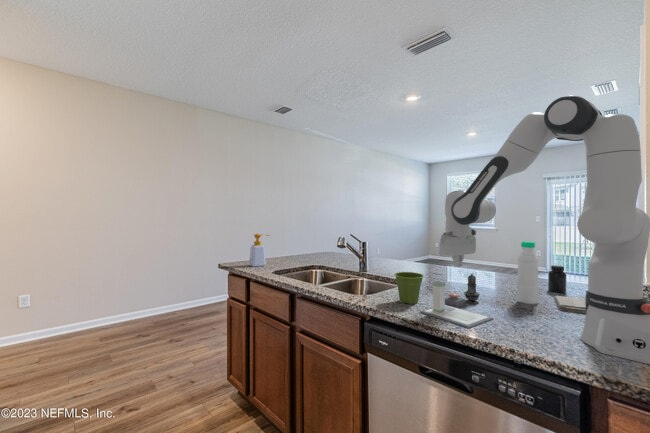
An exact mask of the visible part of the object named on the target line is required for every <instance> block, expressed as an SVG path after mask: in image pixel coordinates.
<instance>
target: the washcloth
mask: <svg viewBox="0 0 650 433" xmlns="http://www.w3.org/2000/svg"><path fill="white" fill-rule="evenodd" d="M554 301H555V303H556V305H557V306H558V309H559V310H560V311H564V312H568V311H569V312H570V313H575V312H577V314H583V313H585V315H586V314H587V310H586V306H585V298H584V297H570V296H561V295H555V296H554ZM569 312H568V313H569Z"/></svg>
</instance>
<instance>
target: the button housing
mask: <svg viewBox="0 0 650 433" xmlns="http://www.w3.org/2000/svg"><path fill="white" fill-rule="evenodd" d="M465 300H466V299H465V298H462V297H457V300H452V299H450V296H449V295H448V296H445V305H449V306H452V307H456V308H462V307H464V306H466V302H465Z"/></svg>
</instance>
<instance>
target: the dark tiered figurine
mask: <svg viewBox="0 0 650 433" xmlns="http://www.w3.org/2000/svg"><path fill="white" fill-rule="evenodd" d="M467 276H468V275H467ZM476 282H477V280H476V276H475V275H473V273H470V275H469V276H468V277H467V283H466V285H467V291H464V292H463V294H464V297H465V298H466V299H465V304H470V305H478V304H480V302H479V301H478V300H479V298H480V297H479V296H480V293H479V292H477V286H478V285H477V283H476Z"/></svg>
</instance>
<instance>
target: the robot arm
mask: <svg viewBox="0 0 650 433" xmlns="http://www.w3.org/2000/svg"><path fill="white" fill-rule="evenodd" d="M554 139H556V140H560V141H568V142H569V141H571V142H582V141H583V142H584V144H585V154H586V158H585V159H586V188H585V189H586V190H585V195H584V200H583V204H582V205H583V206H582V211H581V214H580V215H579V217H578V220H577V223H576V224H577V225H576V226H577V229H578V232H579V233H580V235H581V236H582V238H585V239H586V240H588V241H589V242H592V243H594V247H593V252H592V256H591V258H590V260H589V261H588V265H587V266H588V269H587V270H588V272H587V290H586V291H585V298H584V299H585V306H586V310H587V314H585V321H584V324H583V325H584V326H583V328H582V332H581V334H580V337H579V339H580V340H581V341H582V342H583V343H585V344H586V345H589V346H591V347H593V348H594V349H595V350H596V351H598V352H599V353H602V354H604V355H610V356H613V357H616V358H617V357H618V358H621V359H626V360H629V361H634V362H639V363H641V364H646V365H650V300H648V299H647V298H645V297H643V295H644V294H643V292H644V267H645V260H646V256H647V252H648V246H649V238H650V216H649V215H648V214H647V213H646V212H645V211H643V210H642V209H641V208H639V207H637V202H638V195H639V191H640V190H639V189H640V186H641V184H642V181H643V177H642V176H643V174H642V155H641V154H642V152H641V141H640V135H639V132H638V128H637V124H636V121H635V119H634V118H633V117H631V116H630V115H627V114H622V113H613V114H608V115H607V114H605V115H603V114H602V112H601V111H600V110H599V109H598V108H597V107H596V106H595V105H594V103H592V102H590V101H589V100H587V99H586V98H584V97H582V96H579V95H564V96H561V97H558V98H556V99H555V100H553V101H552V102H551V103H550V104H549V105H548V106H547V108H546V109H545V111H544V113H542V112H532V113H529V114H527V115H525V116H524V117H523V118H522V120H520V121H519V123H518V124H517V125H516V126H515V128H514V129H513V130H512V131H511V133H510V134H509V135H508V137H507V138H506V140H505V142H504V143H503V144H502V146H501V147H500V149H499V150H498V151H497V152H496V154H495V155H494V156H493V158H492V159H490V161H489V162H487V164H486V165H485V166H484V168H482V170H481V171H480V173H479V174H478V176H476V178H475V179H474V181H473V182H472V183H471V184H470V186H469V187H468V188H467V190H463V189H460V190H454V191H451V192H448V194H447V195H446V197H445V203H444V204H445V205H444V214H445V218H446V220H445V224H444V225H445V232H443V233H442V234H441V237H440V238H439V239H440V240H439V247H438V248H439V251H438V252H439V253H438V254H439V255H440V257H448V258H449V257H451V259H452V260H453V265H454V267H455V268H458V267H459V268H460V267H463V262H464V259H465V255H470V254H471V255H472V254H475V253H476V251H477V238H476V236H477V230H475V229H474V228H472V227H470V225H473V224H484V223H488V222H489V221H491V220H493V219H494V217H495V216H496V214H497V213H496V210H497V209H496V205H495V203H494V202H493V201H492V200H491V199H488V198H487V196H488V195H489V194H490V193H491V191H492V190H493V189H494V188H495V187H496V185H498V183H499V182H500V181H502V180H503V179H504V178H507V177H510V176H513V175H515V174H519V173H522V172H524V171H525V170H527V169H528V168H529V167H530V166H531V165H532V164H533V163H534V162H535V160H536V159H537V158H538V156H539V155H540V154H541V152H542V151H543V149H544V148H545V147H546V145H547V144H548V143H549V142H550V141H552V140H554Z"/></svg>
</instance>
